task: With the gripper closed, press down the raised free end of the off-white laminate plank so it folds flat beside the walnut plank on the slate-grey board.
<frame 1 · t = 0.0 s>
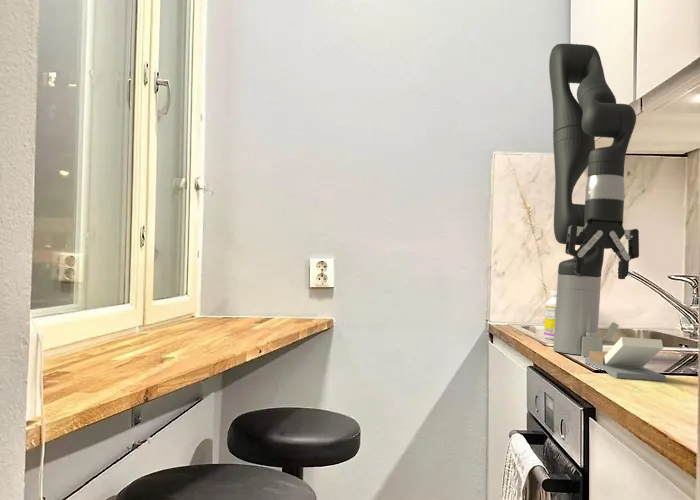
hand: (600, 277, 141), 17 cm above the counter, tool pointing down, fingers open, 8 cm apart
supplement bottle: (556, 340, 182), on the counter
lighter: (598, 359, 147), on the counter
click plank: (632, 352, 124), point 4 cm above the counter, hinge at 30.0°
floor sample: (625, 373, 127), on the counter
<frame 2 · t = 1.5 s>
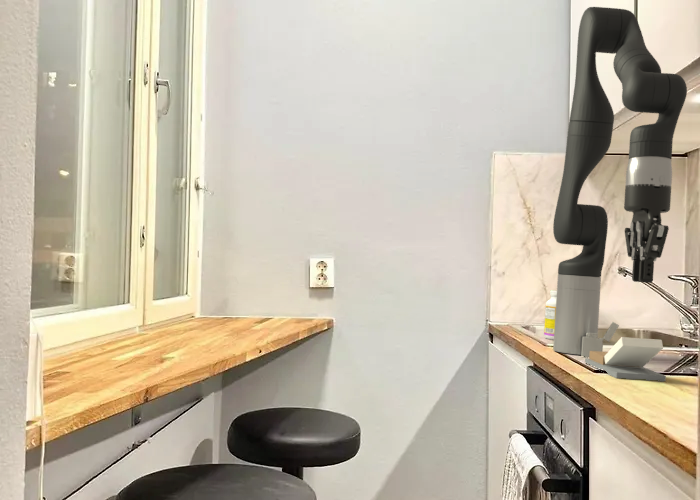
hand: (642, 281, 122), 17 cm above the counter, tool pointing down, fingers closed
nothing on the counter moved.
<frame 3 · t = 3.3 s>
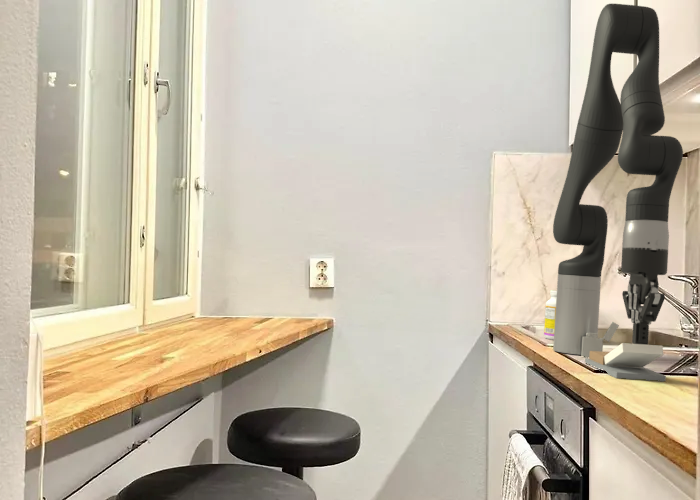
hand: (640, 345, 121), 6 cm above the counter, tool pointing down, fingers closed
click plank: (632, 355, 124), point 4 cm above the counter, hinge at 22.9°, touching gripper
everything else where it was.
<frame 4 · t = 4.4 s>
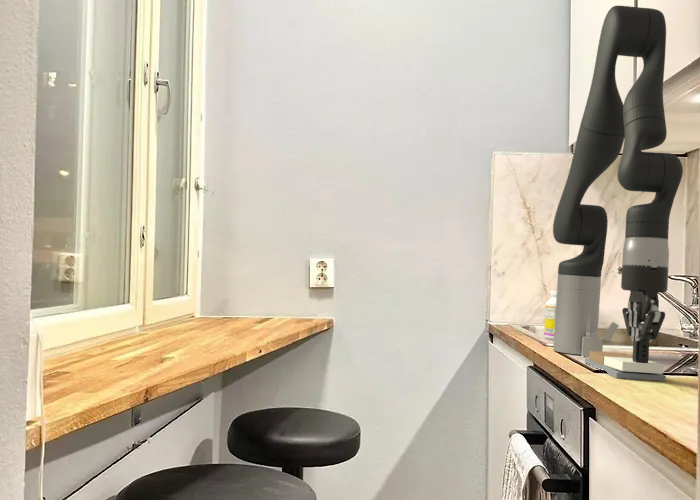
hand: (640, 362, 121), 3 cm above the counter, tool pointing down, fingers closed
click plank: (632, 364, 124), point 2 cm above the counter, hinge at 2.1°, touching gripper
everything else where it was.
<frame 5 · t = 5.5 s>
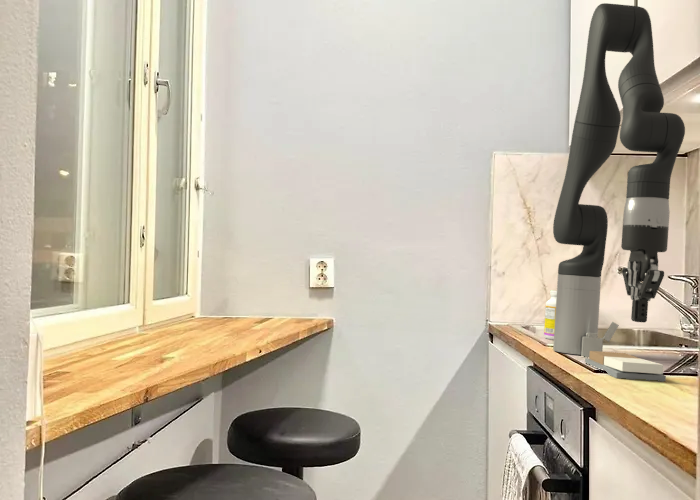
hand: (638, 321, 122), 10 cm above the counter, tool pointing down, fingers closed
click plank: (632, 364, 124), point 2 cm above the counter, hinge at 1.8°
everything else where it was.
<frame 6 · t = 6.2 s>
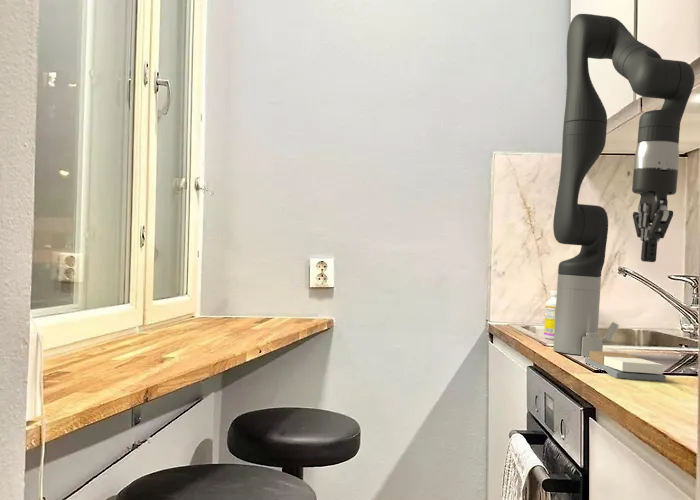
hand: (648, 261, 127), 21 cm above the counter, tool pointing down, fingers closed
nothing on the counter moved.
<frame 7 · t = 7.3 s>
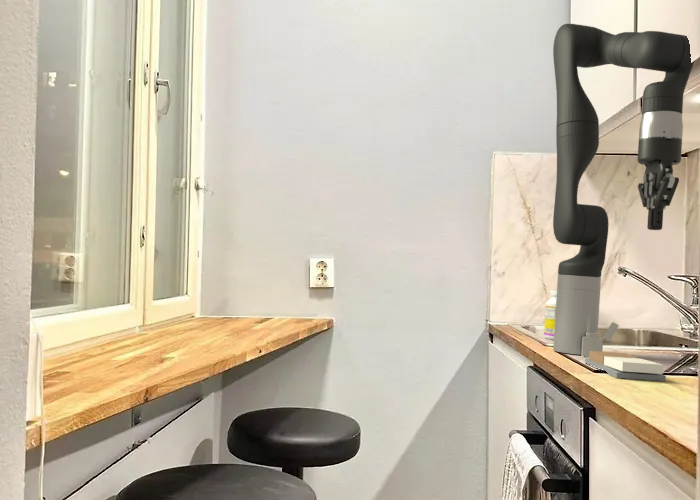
hand: (654, 229, 130), 27 cm above the counter, tool pointing down, fingers closed
nothing on the counter moved.
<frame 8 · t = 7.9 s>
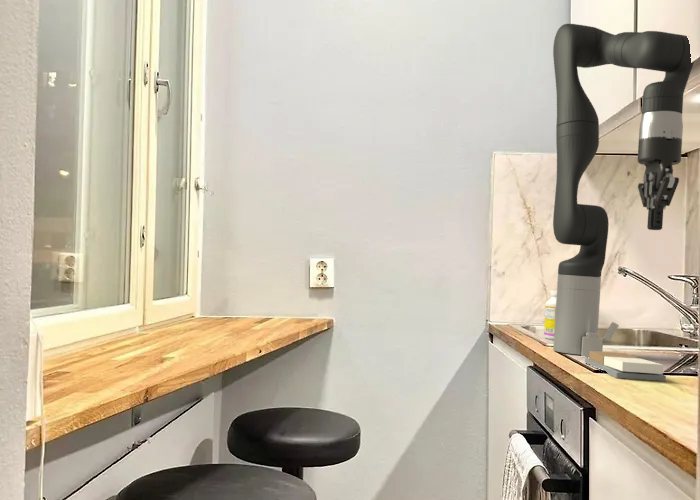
hand: (654, 229, 130), 27 cm above the counter, tool pointing down, fingers closed
nothing on the counter moved.
at the end: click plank at +2° (first picture: +30°) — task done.
